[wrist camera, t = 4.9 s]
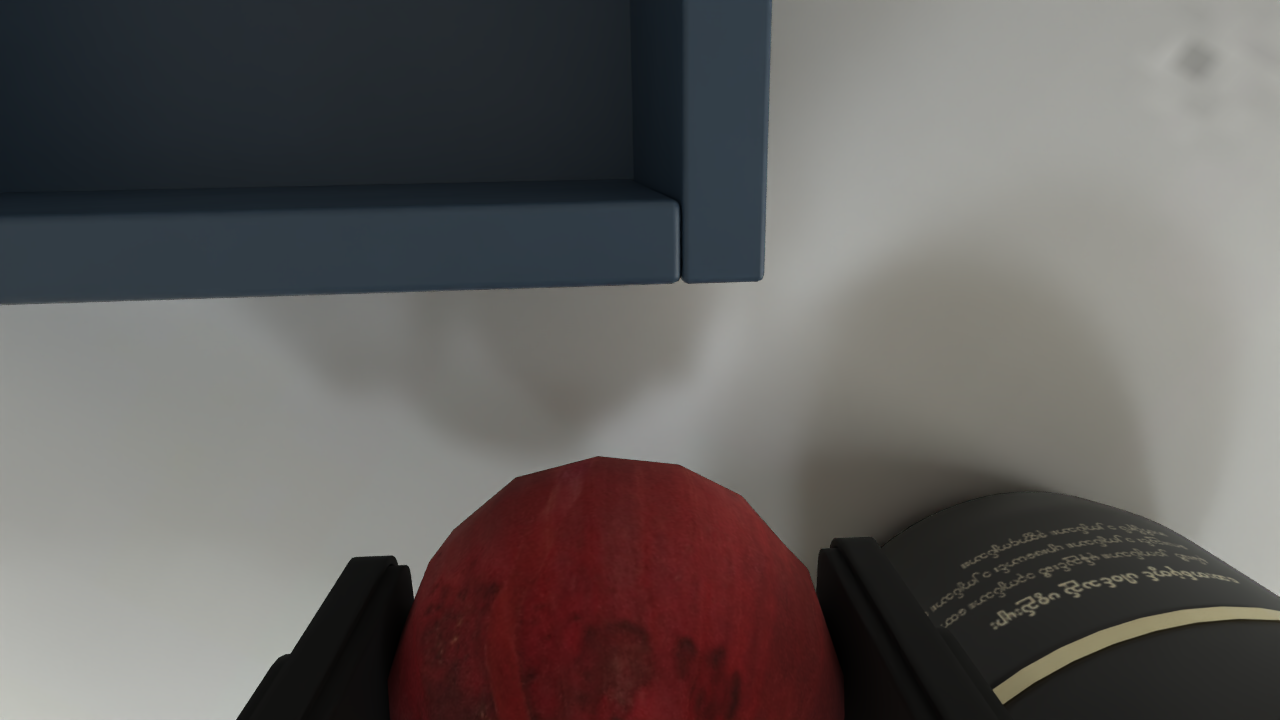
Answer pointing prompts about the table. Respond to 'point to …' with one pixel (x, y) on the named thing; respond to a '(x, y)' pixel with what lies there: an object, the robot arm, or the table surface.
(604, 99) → the bin
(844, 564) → the robot arm
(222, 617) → the table surface
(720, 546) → the pomegranate
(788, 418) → the table surface
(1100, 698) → the jar
